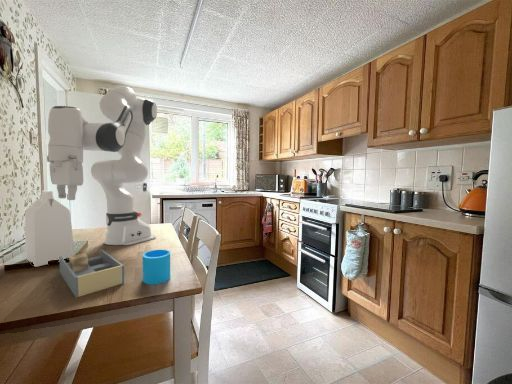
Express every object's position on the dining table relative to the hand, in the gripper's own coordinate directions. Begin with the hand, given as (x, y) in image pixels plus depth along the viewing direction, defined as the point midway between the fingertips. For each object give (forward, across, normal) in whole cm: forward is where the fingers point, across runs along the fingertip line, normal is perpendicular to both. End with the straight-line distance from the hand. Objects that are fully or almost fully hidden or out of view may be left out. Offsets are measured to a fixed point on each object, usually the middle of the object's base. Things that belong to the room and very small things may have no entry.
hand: (66, 199), depth 77 cm
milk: (+24, +21, 0) cm, 32 cm away
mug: (+25, -24, -18) cm, 39 cm away
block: (+22, -7, -1) cm, 23 cm away
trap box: (+25, -10, -4) cm, 27 cm away
